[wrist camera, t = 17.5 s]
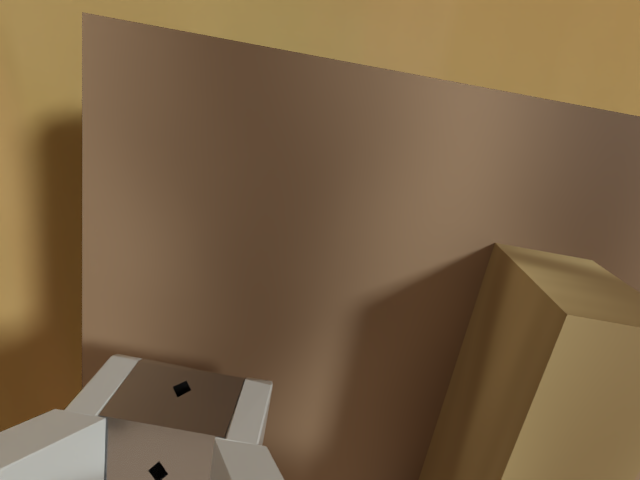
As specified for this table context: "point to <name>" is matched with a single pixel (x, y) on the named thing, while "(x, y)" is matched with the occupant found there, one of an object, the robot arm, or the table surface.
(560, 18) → the table surface
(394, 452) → the lid
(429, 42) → the table surface
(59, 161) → the table surface
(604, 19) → the table surface
